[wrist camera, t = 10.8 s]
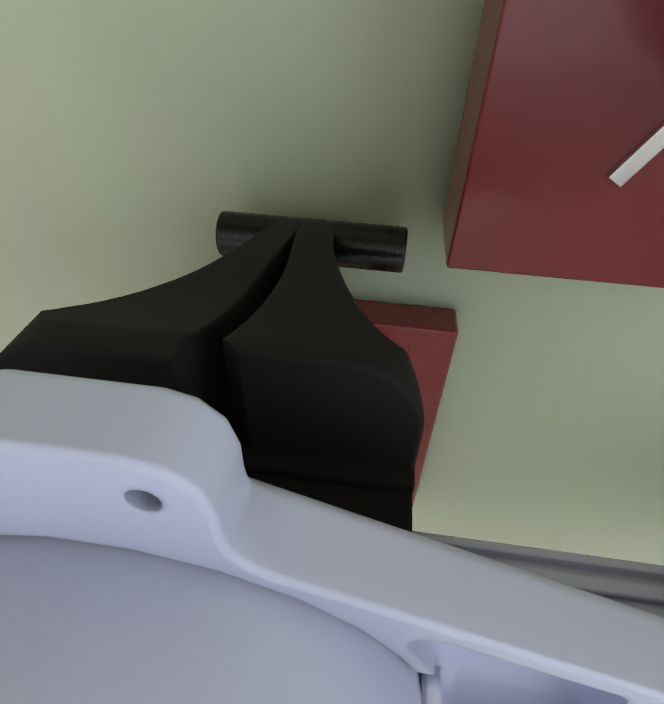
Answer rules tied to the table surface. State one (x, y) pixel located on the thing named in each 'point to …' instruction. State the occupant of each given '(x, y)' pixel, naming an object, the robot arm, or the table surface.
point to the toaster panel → (563, 144)
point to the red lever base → (419, 353)
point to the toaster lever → (348, 244)
